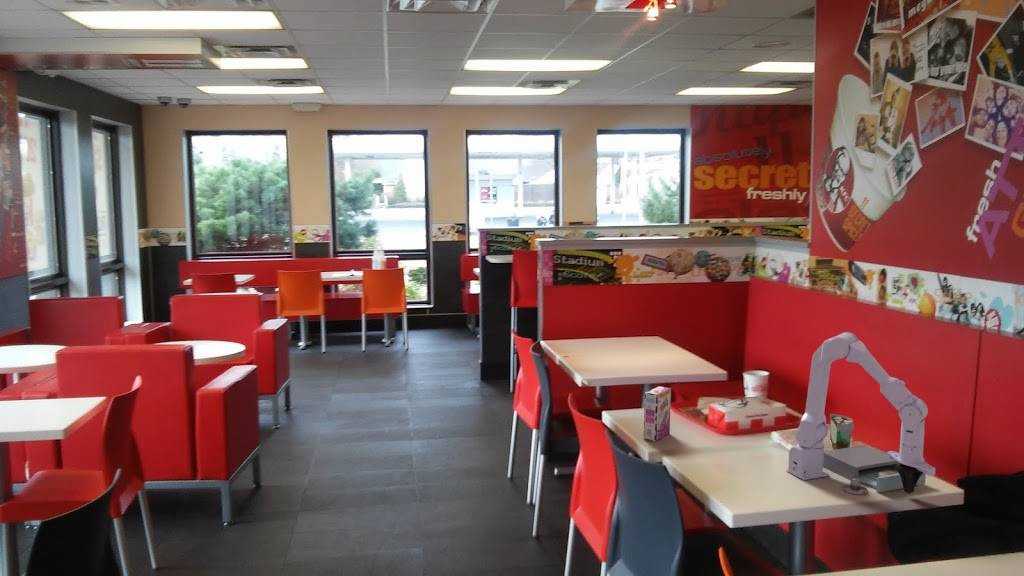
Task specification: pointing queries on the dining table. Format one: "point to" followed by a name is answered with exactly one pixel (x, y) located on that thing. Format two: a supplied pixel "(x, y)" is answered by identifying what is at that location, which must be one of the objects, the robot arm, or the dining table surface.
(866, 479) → the drawer
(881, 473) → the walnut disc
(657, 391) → the candy bar box
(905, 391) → the robot arm
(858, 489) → the disc stand
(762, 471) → the dining table surface
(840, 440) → the food container
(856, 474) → the cabinet
